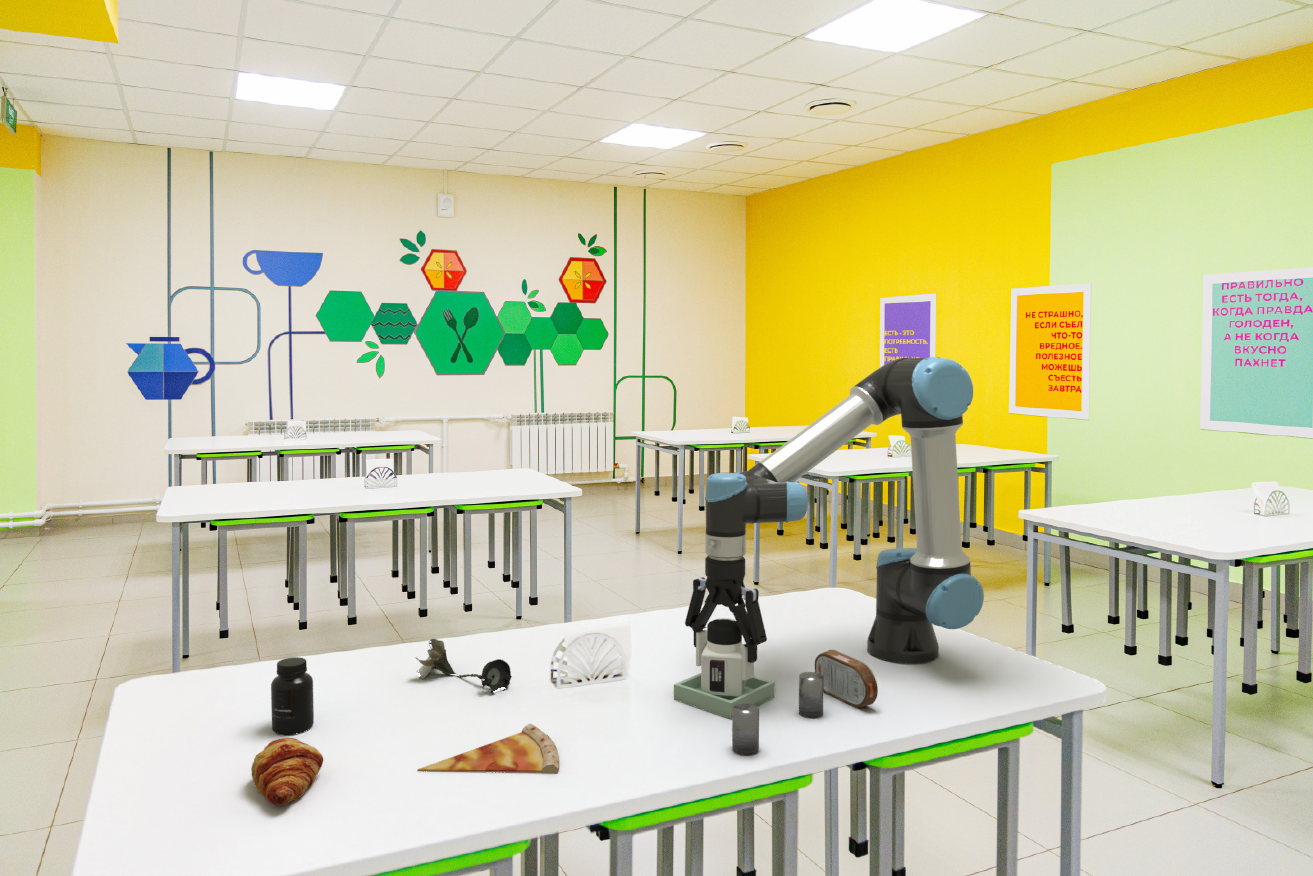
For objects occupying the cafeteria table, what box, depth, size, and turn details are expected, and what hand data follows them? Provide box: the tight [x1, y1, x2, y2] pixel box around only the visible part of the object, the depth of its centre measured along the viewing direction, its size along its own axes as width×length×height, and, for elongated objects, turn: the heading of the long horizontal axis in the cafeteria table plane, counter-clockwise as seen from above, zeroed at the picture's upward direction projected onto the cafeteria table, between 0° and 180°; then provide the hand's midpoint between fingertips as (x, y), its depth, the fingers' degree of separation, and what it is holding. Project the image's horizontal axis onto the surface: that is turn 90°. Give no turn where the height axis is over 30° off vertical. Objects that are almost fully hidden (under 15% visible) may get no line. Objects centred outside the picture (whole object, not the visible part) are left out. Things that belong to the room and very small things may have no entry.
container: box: [700, 617, 746, 697], centre depth 167 cm, size 8×8×13 cm
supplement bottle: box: [270, 656, 315, 736], centre depth 154 cm, size 7×7×12 cm
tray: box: [673, 672, 775, 720], centre depth 167 cm, size 14×14×3 cm
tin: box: [814, 649, 879, 709], centre depth 167 cm, size 15×3×8 cm, turn 31°
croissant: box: [251, 736, 324, 806], centre depth 135 cm, size 21×10×8 cm, turn 21°
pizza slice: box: [417, 723, 560, 774], centre depth 146 cm, size 16×22×2 cm
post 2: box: [798, 671, 825, 720], centre depth 160 cm, size 4×4×7 cm
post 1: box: [731, 704, 760, 757], centre depth 145 cm, size 4×4×7 cm
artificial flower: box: [414, 638, 513, 695], centre depth 177 cm, size 9×22×10 cm, turn 52°
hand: (724, 671), depth 167 cm, fingers closed on container, 10 cm apart
